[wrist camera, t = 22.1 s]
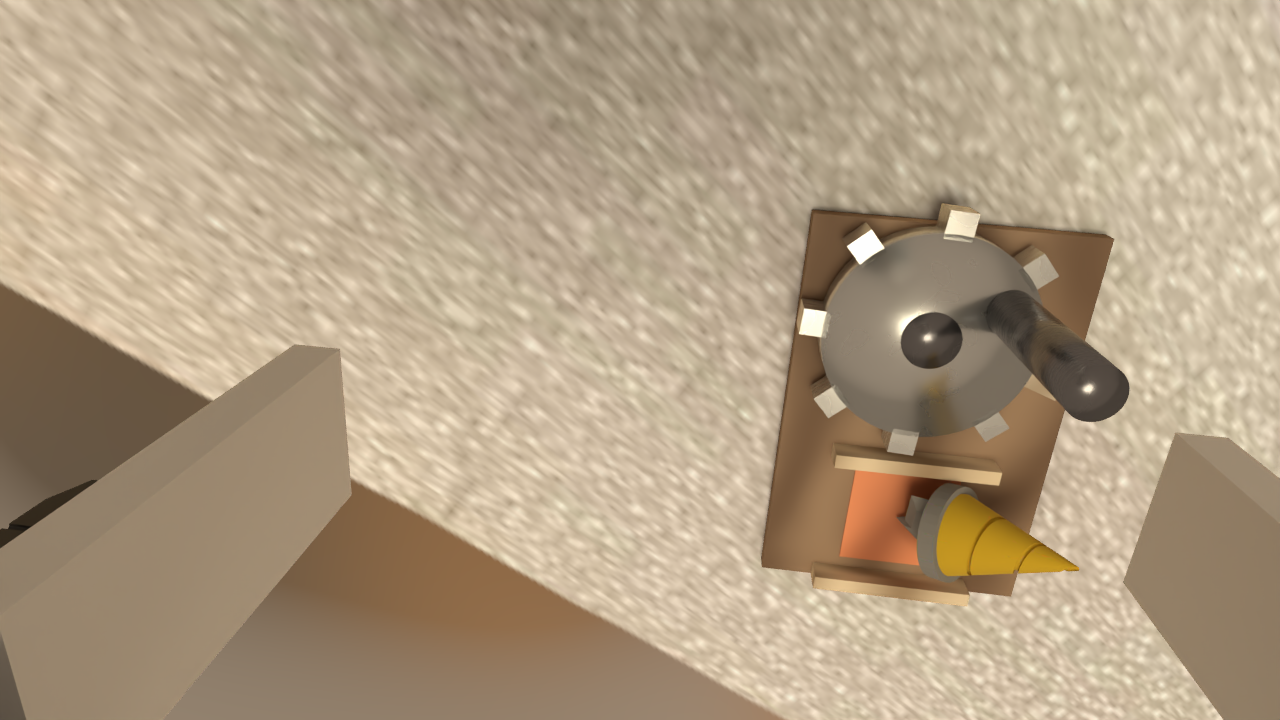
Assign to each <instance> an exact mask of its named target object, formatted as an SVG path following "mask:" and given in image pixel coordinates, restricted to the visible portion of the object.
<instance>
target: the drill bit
mask: <svg viewBox="0 0 1280 720" xmlns="http://www.w3.org/2000/svg"><path fill="white" fill-rule="evenodd" d="M896 518H897V519H898V520H899V521H900V522H901V523H902V524H903V525H904V526H905V528H906V529H907V530H908V531H909V532H910V533H911V534H912V535H913V536H914V537H915V538H916V539H917V558H918V562H919V566H920V568H921V570H922V572H923V573H924V574H925V575H926V576H928V577H930V578H933V579H936V580H939V581H942V582H946V583H951V582H954V581H955V580H957V579H958V578H959V577H960V576H969V575H993V574H1013V573H1014V571H1015V570H1017V571H1018V573H1040V572H1061V571H1063V570H1066V571H1079V568H1078V567H1077V566H1076V565H1074V564H1073V563H1071V562H1070V561H1068V560H1067V559H1065V558H1064V557H1062V556H1061V555H1059V554H1058V553H1056V552H1055V551H1053V550H1052V549H1050V548H1048V547H1047V546H1046V545H1044V544H1043V543H1041V542H1040V541H1038V540H1037V539H1035V538H1034V537H1032V536H1031V535H1029V534H1028V533H1026V532H1025V531H1023V530H1022V529H1020V528H1019V527H1017V526H1016V525H1014V524H1013V523H1011V522H1010V521H1008V520H1006V519H1005V518H1004V517H1002V516H1001V515H999V514H997V513H996V512H994V511H993V510H991V509H990V508H988V507H987V506H985V505H984V504H982V503H981V502H979V500H978V498H977V495H976V493H975V492H974V491H973V490H972V489H971V488H969V487H965V486H961V485H956V484H952V483H946V484H943V485H942V486H940V487H939V488H938V489H937V490H936V491H935V492H934V493H933V494H932V496H931V497H930V499H929V500H927V499H924V498H920V497H916V496H912V495H911V498H910V502H909V506H908V509H907V513H906V516H904V517H896Z"/></svg>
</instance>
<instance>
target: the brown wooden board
mask: <svg viewBox="0 0 1280 720" xmlns="http://www.w3.org/2000/svg"><path fill="white" fill-rule="evenodd" d="M865 222H866V223H867V224H868V225H869V227H870V228H871V229H872V231H873V232H874V234H875V235H876V236H877V238H878V239H881V238H883V237H886V236H888V235H890V234H892V233H896V232H899V231H902V230H906V229H911V228H916V227H924V226H936V224H937V220H928V219H916V218H904V217H893V216H881V215H869V214H857V213H846V212H834V211H822V210H812V213H811V220H810V227H809V234H808V240H807V247H806V254H805V261H804V268H803V275H802V282H801V289H800V295H799V302H798V309H797V316H796V323H795V330H794V337H793V343H792V350H791V357H790V364H789V371H788V378H787V385H786V391H785V398H784V405H783V412H782V419H781V426H780V433H779V440H778V446H777V453H776V460H775V467H774V474H773V481H772V488H771V494H770V501H769V508H768V515H767V522H766V529H765V536H764V543H763V549H762V556H761V561H762V567H765V568H774V569H782V570H791V571H799V572H808V573H811V578H812V584H813V588H817V589H825V590H833V591H842V592H850V593H858V594H867V595H875V596H884V597H892V598H900V599H909V600H917V601H926V602H934V603H942V604H951V605H959V606H967V604H968V600H969V596H970V595H969V592H977V593H986V594H994V595H1003V596H1011V594H1012V591H1013V587H1014V584H1015V580H1016V577H1017V573H1018V571H1017V570H1015V571H1014V573H1013V574H993V575H969V576H960V577H959V578H958V579H957V580H955V581H954V582H951V583H946V582H942V581H939V580H936V579H933V578H930V577H928V576H926V575H925V574H924V573H923V572H922V570H921V568H920V566H919V562H918V558H917V539H916V538H915V537H914V536H913V535H912V534H911V533H910V532H909V531H908V530H907V529H906V528H905V526H904V525H903V524H902V523H901V522H900V521H899V520H898V519H897V518H896V517H904V516H906V513H907V509H908V506H909V502H910V498H911V495H912V496H916V497H920V498H924V499H927V500H929V499H930V497H931V496H932V494H933V493H934V492H935V491H936V490H937V489H938V488H939V487H940V486H942V485H943V484H946V483H952V484H956V485H961V486H965V487H969V488H971V489H972V490H973V491H974V492H975V493H976V495H977V498H978V500H979V502H981V503H982V504H984V505H985V506H987V507H988V508H990V509H991V510H993V511H994V512H996V513H997V514H999V515H1001V516H1002V517H1004V518H1005V519H1006V520H1008V521H1010V522H1011V523H1013V524H1014V525H1016V526H1017V527H1019V528H1020V529H1022V530H1023V531H1025V532H1026V533H1028V534H1029V532H1030V528H1031V525H1032V521H1033V518H1034V514H1035V511H1036V508H1037V504H1038V501H1039V497H1040V494H1041V490H1042V487H1043V483H1044V480H1045V476H1046V473H1047V470H1048V466H1049V463H1050V459H1051V456H1052V452H1053V449H1054V445H1055V442H1056V438H1057V435H1058V431H1059V428H1060V425H1061V421H1062V418H1063V414H1064V411H1065V409H1064V408H1063V407H1062V405H1061V404H1060V403H1059V402H1058V401H1057V400H1056V399H1055V398H1054V397H1053V396H1052V395H1051V394H1050V392H1049V391H1048V390H1047V389H1046V388H1045V387H1044V386H1043V385H1042V384H1041V383H1040V382H1039V381H1038V379H1037V378H1036V377H1035V376H1034V375H1033V374H1032V375H1031V377H1030V379H1029V381H1028V382H1027V383H1026V385H1025V386H1024V387H1023V389H1022V390H1021V391H1020V393H1019V394H1018V395H1017V396H1016V397H1015V398H1014V399H1013V400H1012V401H1011V402H1010V403H1009V404H1008V405H1007V406H1005V407H1004V408H1003V409H1002V410H1001V411H999V414H1000V415H1001V417H1002V418H1003V419H1004V421H1005V422H1006V424H1007V425H1008V427H1009V429H1008V430H1006V431H1004V432H1002V433H1001V434H999V435H997V436H995V437H993V438H992V439H990V440H988V441H986V442H985V441H984V439H983V438H982V437H981V435H980V434H979V432H978V431H977V429H976V428H975V427H974V426H973V427H971V428H968V429H965V430H963V431H960V432H956V433H952V434H948V435H941V436H934V437H918V440H917V443H916V447H915V451H914V454H913V456H912V455H905V454H899V453H892V452H887V450H886V448H885V445H884V443H883V440H882V437H881V436H882V432H883V430H882V429H879V428H877V427H875V426H873V425H871V424H869V423H867V422H865V421H864V420H862V419H861V418H859V417H858V416H856V415H855V414H854V413H853V412H852V411H851V410H850V409H848V408H847V407H846V408H844V409H843V410H841V411H839V412H838V413H836V414H834V415H833V416H831V417H830V418H828V417H827V416H826V414H825V413H824V412H823V410H822V409H821V408H820V407H819V405H818V404H817V403H816V401H815V400H814V398H813V394H812V390H811V385H812V384H814V383H815V382H817V381H818V380H820V379H822V378H823V377H825V376H826V372H825V369H824V365H823V362H822V358H821V355H820V352H819V345H818V337H816V336H809V335H802V334H799V332H798V327H797V318H798V313H799V308H800V303H801V298H803V299H810V300H817V301H823V300H824V298H825V296H826V293H827V291H828V289H829V287H830V285H831V284H832V282H833V280H834V279H835V277H836V276H837V275H838V273H839V272H840V271H841V270H842V268H843V267H844V266H845V265H846V264H847V263H848V262H849V261H850V260H851V259H852V258H853V257H854V255H853V254H852V253H851V251H850V250H849V248H848V247H847V245H846V244H845V242H844V240H843V239H842V238H844V237H845V236H847V235H848V234H849V233H851V232H852V231H854V230H855V229H857V228H858V227H860V226H861V225H862V224H864V223H865ZM975 234H978V235H980V236H982V237H984V238H985V239H987V240H989V241H991V242H992V243H994V244H995V245H997V246H998V247H999V248H1001V249H1002V250H1003V251H1005V252H1006V253H1007V254H1009V255H1010V256H1011V257H1014V256H1015V255H1017V254H1019V253H1020V252H1022V251H1023V250H1025V249H1026V248H1028V247H1030V246H1031V245H1033V246H1034V247H1036V248H1037V249H1039V250H1040V251H1042V252H1043V253H1045V255H1046V256H1047V258H1048V259H1049V261H1050V262H1051V264H1052V266H1053V267H1054V269H1055V270H1056V272H1057V273H1058V275H1059V277H1057V278H1055V279H1054V280H1052V281H1051V282H1049V283H1047V284H1046V285H1044V286H1042V287H1041V288H1039V289H1038V293H1039V295H1040V298H1041V301H1042V305H1043V307H1044V308H1046V309H1047V310H1048V311H1049V312H1050V313H1052V314H1053V315H1054V316H1055V317H1056V318H1058V319H1059V320H1060V321H1061V322H1063V323H1064V324H1065V325H1066V326H1067V327H1069V328H1070V329H1071V330H1072V331H1073V332H1075V333H1076V334H1077V335H1078V336H1079V337H1081V338H1082V339H1083V340H1084V341H1085V338H1086V335H1087V331H1088V328H1089V324H1090V321H1091V317H1092V314H1093V311H1094V307H1095V304H1096V300H1097V297H1098V293H1099V290H1100V286H1101V283H1102V279H1103V276H1104V272H1105V269H1106V266H1107V262H1108V259H1109V255H1110V252H1111V248H1112V245H1113V241H1114V239H1113V238H1111V237H1109V236H1107V235H1104V234H1092V233H1080V232H1069V231H1057V230H1045V229H1033V228H1022V227H1010V226H998V225H986V224H978V225H977V229H976V232H975ZM968 591H969V592H968Z"/></svg>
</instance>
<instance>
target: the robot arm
mask: <svg viewBox="0 0 1280 720" xmlns="http://www.w3.org/2000/svg"><path fill="white" fill-rule="evenodd" d="M351 495H352V494H351V481H350V469H349V456H348V444H347V432H346V419H345V407H344V395H343V382H342V370H341V358H340V349H335V348H325V347H315V346H305V345H293V346H292V347H290V348H289V349H288V350H286V351H285V352H283V353H282V354H280V355H279V356H277V357H276V358H275V359H273V360H272V361H270V362H269V363H267V364H266V365H264V366H263V367H262V368H260V369H259V370H257V371H256V372H254V373H253V374H251V375H250V376H249V377H247V378H246V379H244V380H243V381H241V382H240V383H238V384H237V385H236V386H234V387H233V388H231V389H230V390H228V391H227V392H225V393H224V394H223V395H221V396H220V397H218V398H217V399H215V400H214V401H212V402H211V403H210V404H208V405H207V406H205V407H204V408H202V409H201V410H199V411H198V412H197V413H195V414H194V415H192V416H191V417H189V418H188V419H186V420H185V421H184V422H182V423H181V424H179V425H178V426H176V427H175V428H174V429H172V430H171V431H169V432H168V433H166V434H165V435H163V436H162V437H161V438H159V439H158V440H156V441H155V442H153V443H152V444H151V445H149V446H147V447H146V448H145V449H143V450H142V451H140V452H139V453H137V454H136V455H134V456H133V457H132V458H130V459H129V460H127V461H126V462H124V463H123V464H121V465H120V466H119V467H117V468H116V469H114V470H113V471H112V472H110V473H108V474H107V475H106V476H104V477H103V478H101V479H100V480H98V481H97V480H91V481H89V482H86V483H84V484H81V485H79V486H77V487H74V488H72V489H70V490H67V491H64V492H62V493H60V494H57V495H55V496H52V497H50V498H48V499H45V500H44V501H42V502H41V503H39V504H38V505H37V506H35V507H33V508H32V509H30V510H29V511H27V512H26V513H24V514H23V515H21V516H20V517H18V518H17V519H16V520H14V521H12V522H11V523H10V524H9V528H8V529H1V530H0V720H163V719H164V718H165V717H166V716H167V714H168V713H169V712H170V711H171V710H172V708H173V707H174V706H175V705H176V704H177V702H178V701H179V700H180V699H181V698H182V696H183V695H184V694H185V693H186V692H187V690H188V689H189V688H190V687H191V686H192V684H193V683H194V682H195V681H196V680H197V679H198V677H199V676H200V675H201V674H202V673H203V671H204V670H205V669H206V668H207V667H208V665H209V664H210V663H211V662H212V661H213V659H214V658H215V657H216V655H218V653H219V652H220V651H221V650H222V649H223V647H224V646H225V645H226V644H227V643H228V641H229V640H230V639H231V638H232V637H233V636H234V634H235V633H236V632H237V631H238V630H239V628H240V627H241V626H242V625H243V624H244V622H245V621H246V620H247V619H248V618H249V616H250V615H251V614H252V613H253V612H254V610H255V609H256V608H257V607H258V606H259V605H260V603H261V602H262V601H263V600H264V599H265V597H266V596H267V595H268V594H269V593H270V591H271V590H272V589H273V588H274V587H275V585H276V584H277V583H278V582H279V581H280V579H281V578H282V577H283V576H284V575H285V574H286V572H287V571H288V570H289V568H290V567H291V566H292V565H293V564H294V563H295V562H296V560H297V559H298V558H299V557H300V556H301V554H302V553H303V552H304V551H305V550H306V548H307V547H308V546H309V544H311V542H312V541H313V540H314V539H315V538H316V536H317V535H318V534H319V533H320V532H321V531H322V529H323V528H324V527H325V526H326V524H327V523H328V522H329V521H330V520H331V519H332V517H333V516H334V515H335V514H336V513H337V511H338V510H339V509H340V508H341V506H342V505H343V504H344V503H345V502H346V501H347V499H348V498H349V497H350V496H351ZM1123 583H1124V584H1125V585H1126V587H1127V588H1128V590H1129V591H1130V592H1131V594H1132V595H1133V596H1134V598H1135V599H1136V600H1137V602H1138V603H1139V605H1140V606H1141V607H1142V609H1143V610H1144V611H1145V613H1146V614H1147V616H1148V617H1149V618H1150V620H1151V621H1152V622H1153V624H1154V625H1155V627H1156V628H1157V629H1158V631H1159V632H1160V633H1161V635H1162V636H1163V637H1164V639H1165V640H1166V642H1167V643H1168V644H1169V646H1170V647H1171V648H1172V650H1173V651H1174V653H1175V654H1176V655H1177V657H1178V658H1179V659H1180V661H1181V662H1182V663H1183V665H1184V666H1185V668H1186V669H1187V670H1188V672H1189V673H1190V674H1191V676H1192V677H1193V679H1194V680H1195V681H1196V683H1197V684H1198V685H1199V687H1200V688H1201V690H1202V691H1203V692H1204V694H1205V695H1206V696H1207V698H1208V699H1209V700H1210V702H1211V703H1212V705H1213V706H1214V707H1215V709H1216V710H1217V711H1218V713H1219V714H1220V716H1221V717H1222V718H1223V720H1280V478H1278V477H1277V476H1276V475H1275V474H1273V473H1272V472H1271V471H1270V470H1268V469H1267V468H1266V467H1264V466H1263V465H1262V464H1261V463H1259V462H1258V461H1257V460H1256V459H1254V458H1253V457H1252V456H1251V455H1249V454H1248V453H1247V452H1246V451H1244V450H1243V449H1242V448H1240V447H1239V446H1238V445H1237V444H1235V443H1234V442H1233V441H1232V440H1230V439H1229V438H1224V437H1214V436H1204V435H1194V434H1184V433H1175V436H1174V439H1173V441H1172V444H1171V447H1170V450H1169V453H1168V456H1167V459H1166V461H1165V464H1164V467H1163V470H1162V473H1161V476H1160V479H1159V481H1158V484H1157V487H1156V490H1155V493H1154V496H1153V499H1152V501H1151V504H1150V507H1149V510H1148V513H1147V516H1146V519H1145V521H1144V524H1143V527H1142V530H1141V533H1140V536H1139V539H1138V541H1137V544H1136V547H1135V550H1134V553H1133V556H1132V559H1131V561H1130V564H1129V567H1128V570H1127V573H1126V576H1125V579H1124V581H1123Z"/></svg>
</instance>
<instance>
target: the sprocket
mask: <svg viewBox="0 0 1280 720" xmlns="http://www.w3.org/2000/svg"><path fill="white" fill-rule="evenodd" d="M979 218H980V214H979V213H978V212H976V211H975V210H973V209H972V208H971V207H965V206H957V205H950V204H943V203H942V205H941V209H940V213H939V216H938V220H937V224H936V226H924V227H916V228H911V229H906V230H902V231H899V232H896V233H892V234H890V235H888V236H886V237H883V238H881V239H878V238H877V236H876V235H875V234H874V232H873V231H872V229H871V228H870V227H869V225H868V224H867V223H866V222H865V223H864V224H862V225H861V226H860V227H858V228H857V229H855V230H854V231H852V232H851V233H849V234H848V235H847V236H845V237H844V238H842V239H843V240H844V242H845V244H846V245H847V247H848V248H849V250H850V251H851V253H852V254H853V255H854V257H853V258H852V259H851V260H850V261H849V262H848V263H847V264H846V265H845V266H844V267H843V268H842V270H841V271H840V272H839V273H838V275H837V276H836V277H835V279H834V280H833V282H832V284H831V285H830V287H829V289H828V291H827V293H826V296H825V298H824V300H823V301H817V300H810V299H803V298H801V303H800V308H799V313H798V318H797V327H798V332H799V334H802V335H809V336H816V337H818V345H819V352H820V355H821V358H822V362H823V365H824V369H825V372H826V376H825V377H823V378H822V379H820V380H818V381H817V382H815V383H814V384H812V385H811V390H812V394H813V398H814V400H815V401H816V403H817V404H818V405H819V407H820V408H821V409H822V410H823V412H824V413H825V414H826V416H827V417H828V418H830V417H831V416H833V415H834V414H836V413H838V412H839V411H841V410H843V409H844V408H846V407H847V408H848V409H850V410H851V411H852V412H853V413H854V414H855V415H856V416H858V417H859V418H861V419H862V420H864V421H865V422H867V423H869V424H871V425H873V426H875V427H877V428H879V429H882V430H883V432H882V436H881V437H882V440H883V443H884V445H885V448H886V450H887V452H892V453H899V454H905V455H912V456H913V454H914V451H915V447H916V443H917V440H918V437H934V436H941V435H948V434H952V433H956V432H960V431H963V430H965V429H968V428H971V427H973V426H974V427H975V428H976V429H977V431H978V432H979V434H980V435H981V437H982V438H983V439H984V441H985V442H986V441H988V440H990V439H992V438H993V437H995V436H997V435H999V434H1001V433H1002V432H1004V431H1006V430H1008V429H1009V427H1008V425H1007V424H1006V422H1005V421H1004V419H1003V418H1002V417H1001V415H1000V414H999V411H1001V410H1002V409H1003V408H1004V407H1005V406H1007V405H1008V404H1009V403H1010V402H1011V401H1012V400H1013V399H1014V398H1015V397H1016V396H1017V395H1018V394H1019V393H1020V391H1021V390H1022V389H1023V387H1024V386H1025V385H1026V383H1027V382H1028V381H1029V379H1030V377H1031V375H1032V374H1033V375H1034V376H1035V377H1036V378H1037V379H1038V381H1039V382H1040V383H1041V384H1042V385H1043V386H1044V387H1045V388H1046V389H1047V390H1048V391H1049V392H1050V394H1051V395H1052V396H1053V397H1054V398H1055V399H1056V400H1057V401H1058V402H1059V403H1060V404H1061V405H1062V407H1063V408H1064V409H1065V410H1066V411H1067V412H1068V413H1069V414H1070V415H1071V416H1073V417H1074V418H1076V419H1078V420H1081V421H1086V422H1096V421H1101V420H1104V419H1107V418H1109V417H1111V416H1113V415H1114V414H1116V413H1117V412H1118V411H1119V410H1120V409H1121V408H1122V407H1123V406H1124V404H1125V402H1126V401H1127V398H1128V395H1129V383H1128V380H1127V378H1126V376H1125V375H1124V374H1123V373H1122V372H1121V371H1120V370H1119V369H1118V368H1117V367H1115V366H1114V365H1113V364H1112V363H1111V362H1109V361H1108V360H1107V359H1106V358H1105V357H1103V356H1102V355H1101V354H1100V353H1099V352H1097V351H1096V350H1095V349H1094V348H1093V347H1091V346H1090V345H1089V344H1088V343H1087V342H1085V341H1084V340H1083V339H1082V338H1081V337H1079V336H1078V335H1077V334H1076V333H1075V332H1073V331H1072V330H1071V329H1070V328H1069V327H1067V326H1066V325H1065V324H1064V323H1063V322H1061V321H1060V320H1059V319H1058V318H1056V317H1055V316H1054V315H1053V314H1052V313H1050V312H1049V311H1048V310H1047V309H1046V308H1044V307H1043V305H1042V301H1041V298H1040V295H1039V293H1038V289H1039V288H1041V287H1042V286H1044V285H1046V284H1047V283H1049V282H1051V281H1052V280H1054V279H1055V278H1057V277H1059V275H1058V273H1057V272H1056V270H1055V269H1054V267H1053V266H1052V264H1051V262H1050V261H1049V259H1048V258H1047V256H1046V255H1045V253H1043V252H1042V251H1040V250H1039V249H1037V248H1036V247H1034V246H1033V245H1031V246H1030V247H1028V248H1026V249H1025V250H1023V251H1022V252H1020V253H1019V254H1017V255H1015V256H1014V257H1011V256H1010V255H1009V254H1007V253H1006V252H1005V251H1003V250H1002V249H1001V248H999V247H998V246H997V245H995V244H994V243H992V242H991V241H989V240H987V239H985V238H984V237H982V236H980V235H978V234H975V232H976V229H977V225H978V221H979Z"/></svg>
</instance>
